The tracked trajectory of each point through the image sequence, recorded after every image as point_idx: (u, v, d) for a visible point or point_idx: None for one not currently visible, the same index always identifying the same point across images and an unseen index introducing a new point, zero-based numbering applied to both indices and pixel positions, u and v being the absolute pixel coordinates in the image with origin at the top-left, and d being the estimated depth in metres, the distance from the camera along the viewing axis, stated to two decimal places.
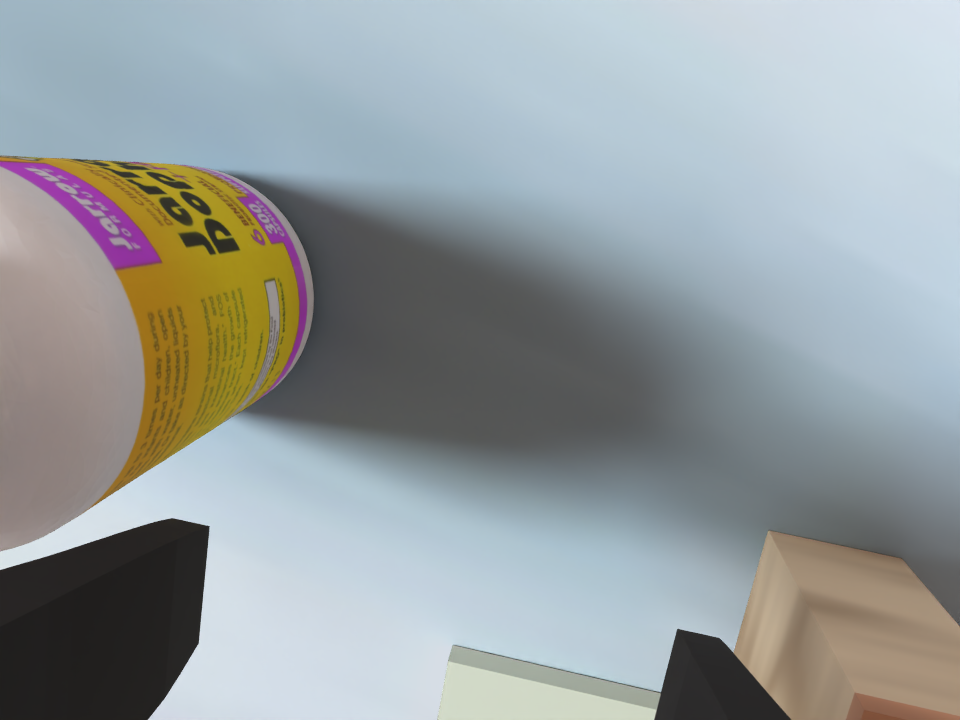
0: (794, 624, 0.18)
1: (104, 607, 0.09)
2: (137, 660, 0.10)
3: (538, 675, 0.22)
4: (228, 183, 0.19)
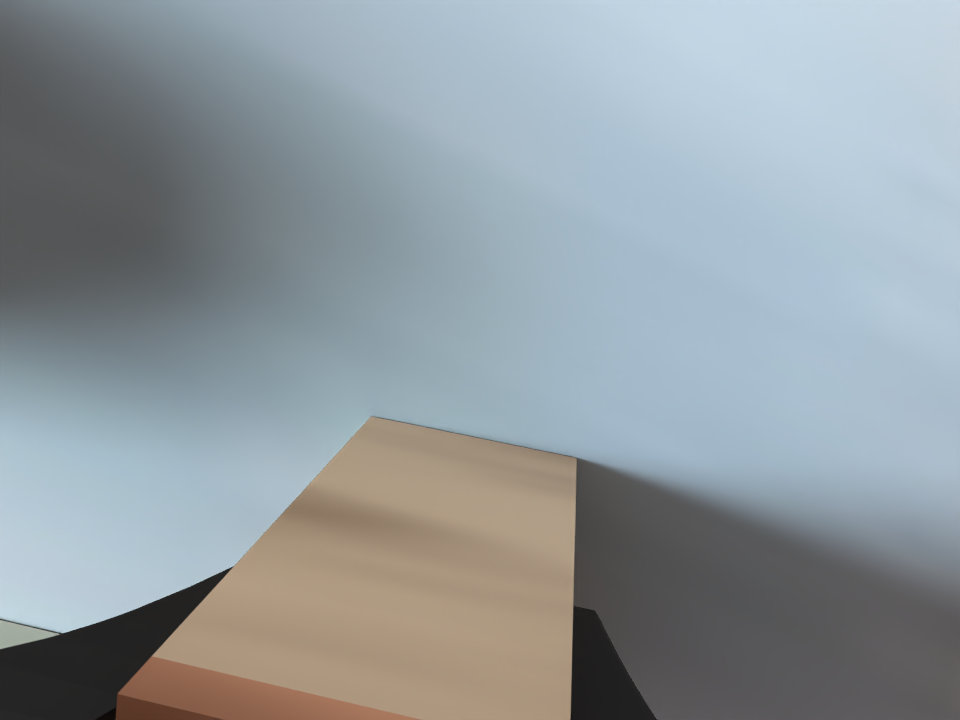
0: None
1: None
2: None
3: None
4: None
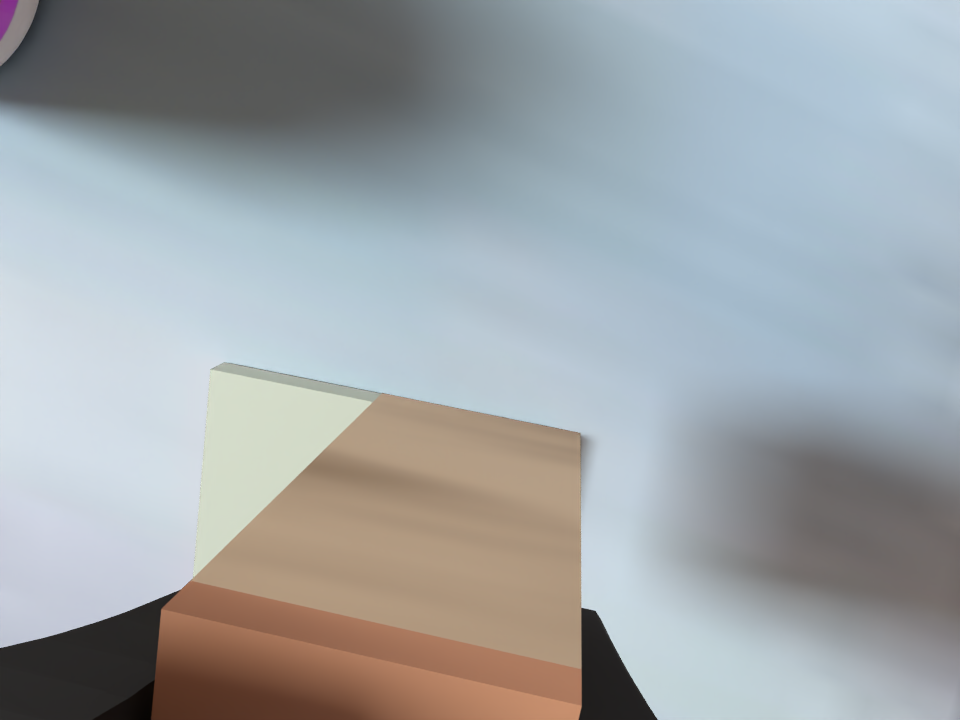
0: None
1: None
2: None
3: (311, 385, 0.21)
4: None
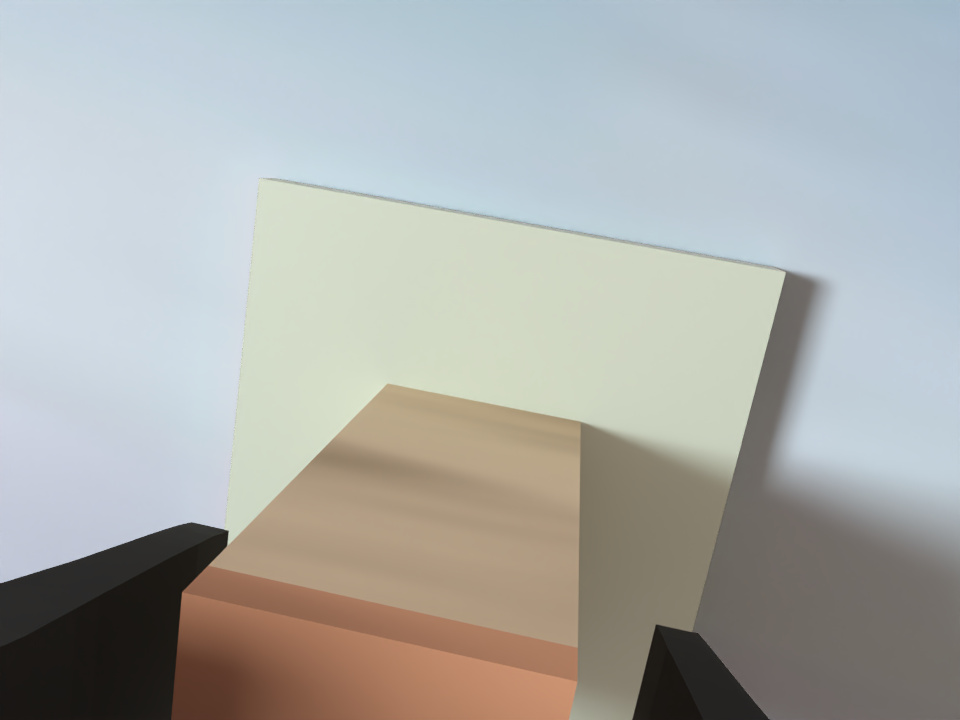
0: None
1: (128, 612, 0.09)
2: (159, 665, 0.10)
3: (408, 203, 0.14)
4: None
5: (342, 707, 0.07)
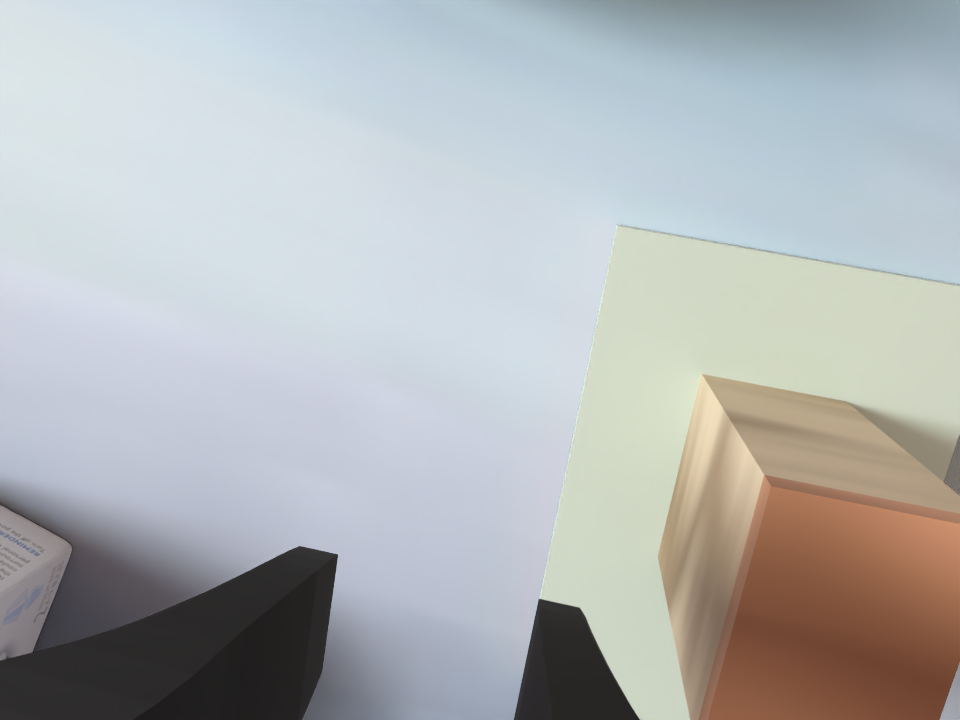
0: (718, 446, 0.16)
1: (264, 644, 0.09)
2: (281, 694, 0.10)
3: (723, 244, 0.19)
4: None
5: (859, 551, 0.12)
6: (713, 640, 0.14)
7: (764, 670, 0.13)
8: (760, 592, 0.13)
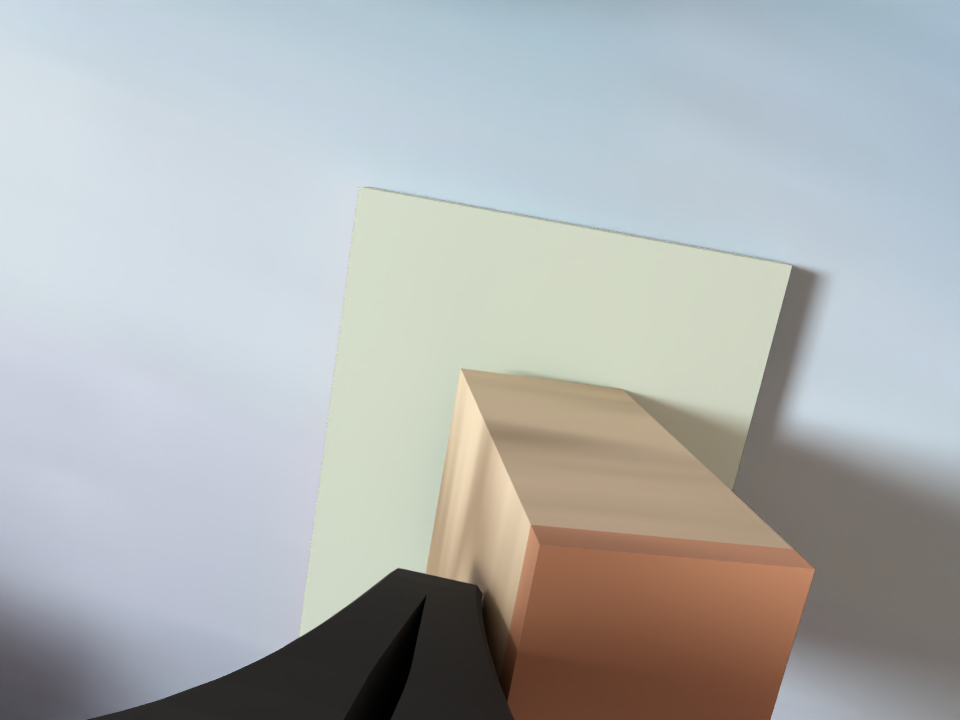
0: (479, 467, 0.13)
1: (388, 673, 0.09)
2: None
3: (481, 208, 0.17)
4: None
5: (652, 613, 0.10)
6: None
7: None
8: (534, 681, 0.10)
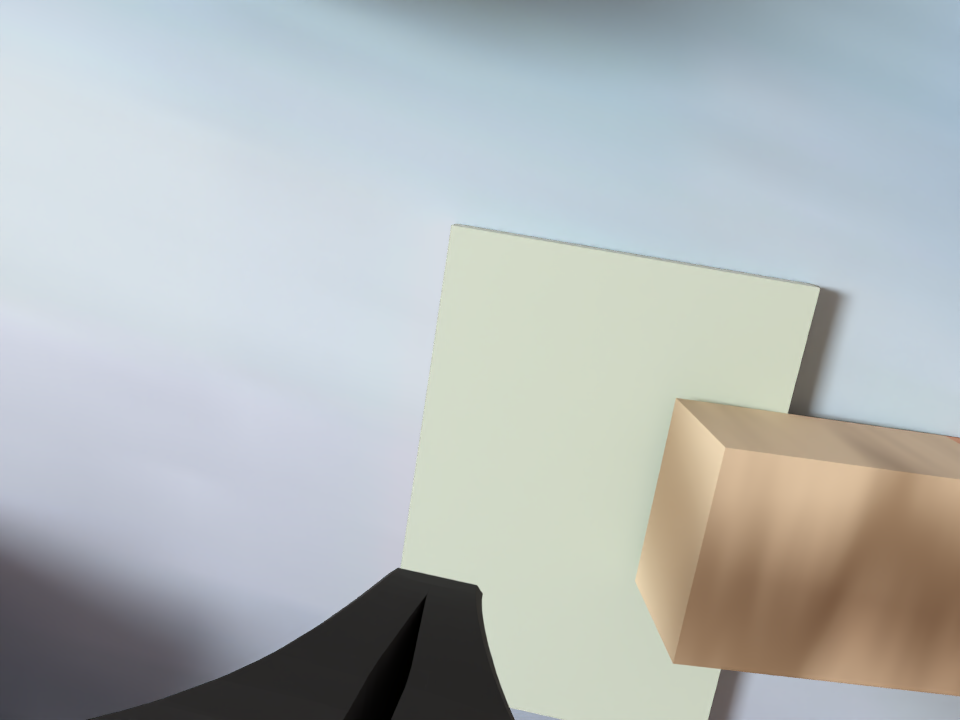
0: (882, 502, 0.16)
1: (388, 673, 0.09)
2: None
3: (554, 242, 0.20)
4: None
5: None
6: None
7: None
8: None
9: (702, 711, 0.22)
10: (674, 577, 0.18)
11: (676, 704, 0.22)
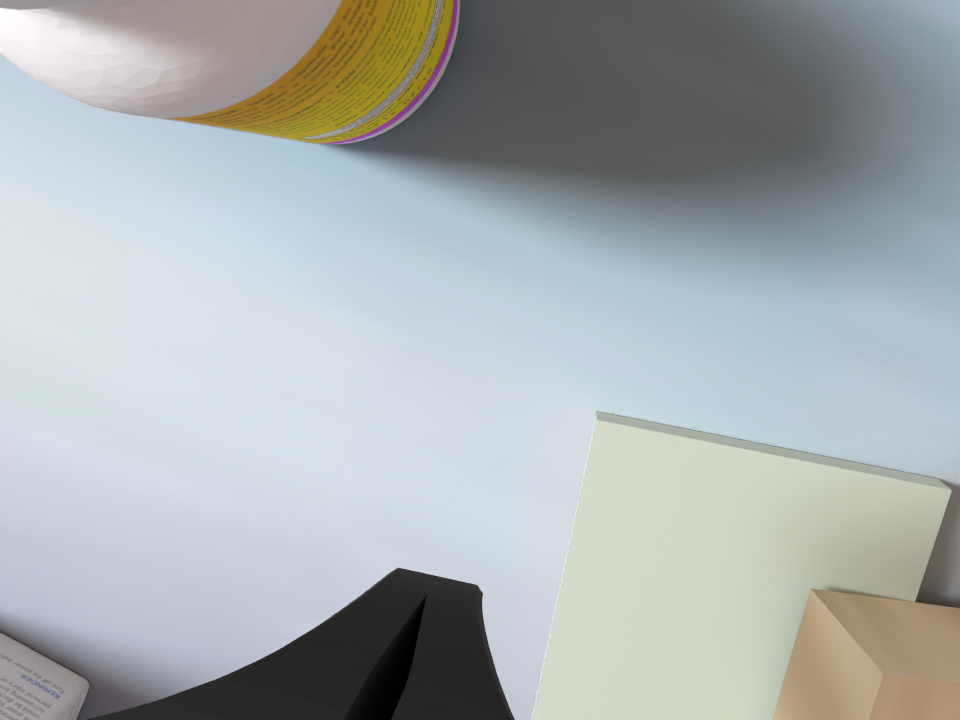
0: None
1: (388, 672, 0.09)
2: None
3: (694, 435, 0.21)
4: None
5: None
6: None
7: None
8: None
9: None
10: None
11: None
